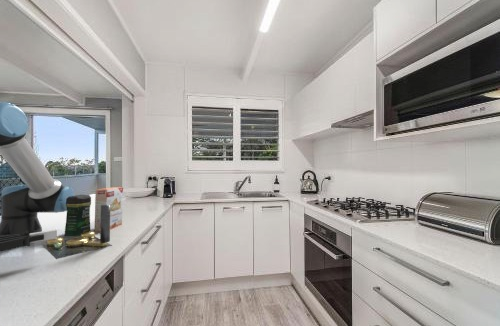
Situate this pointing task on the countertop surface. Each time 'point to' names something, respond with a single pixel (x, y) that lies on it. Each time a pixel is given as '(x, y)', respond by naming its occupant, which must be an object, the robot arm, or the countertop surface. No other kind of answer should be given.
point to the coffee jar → (77, 215)
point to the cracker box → (115, 200)
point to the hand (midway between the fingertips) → (56, 233)
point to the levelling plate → (61, 250)
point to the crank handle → (103, 231)
